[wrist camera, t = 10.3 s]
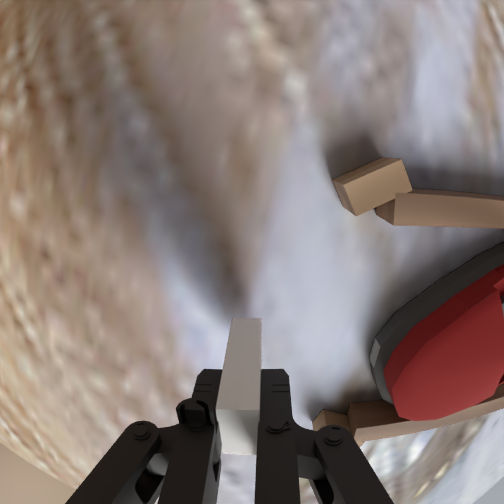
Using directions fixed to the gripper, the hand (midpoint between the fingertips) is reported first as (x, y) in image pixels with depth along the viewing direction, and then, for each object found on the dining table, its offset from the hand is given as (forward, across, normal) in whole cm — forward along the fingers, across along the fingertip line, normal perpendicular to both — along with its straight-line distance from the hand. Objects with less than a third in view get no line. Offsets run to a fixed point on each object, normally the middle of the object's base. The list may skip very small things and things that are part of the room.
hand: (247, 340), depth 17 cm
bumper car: (+2, +17, 0) cm, 17 cm away
